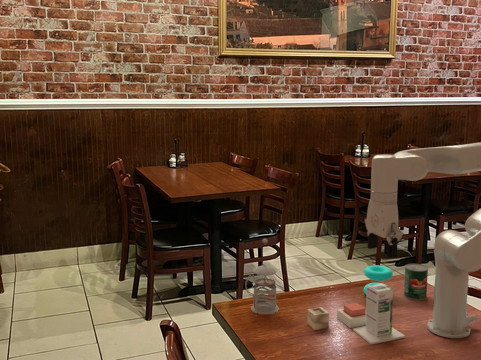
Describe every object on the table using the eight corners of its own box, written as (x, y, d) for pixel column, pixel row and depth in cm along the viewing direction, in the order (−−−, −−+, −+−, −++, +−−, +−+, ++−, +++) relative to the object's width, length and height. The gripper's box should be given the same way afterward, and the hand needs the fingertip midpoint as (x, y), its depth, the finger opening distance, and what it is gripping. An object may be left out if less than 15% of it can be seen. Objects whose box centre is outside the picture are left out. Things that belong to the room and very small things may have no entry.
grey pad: (385, 324, 168) (385, 322, 168) (404, 337, 159) (404, 335, 159) (352, 330, 164) (352, 328, 164) (371, 344, 155) (371, 342, 155)
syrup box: (376, 337, 158) (378, 291, 155) (365, 329, 163) (366, 285, 161) (392, 333, 160) (394, 288, 158) (380, 326, 165) (381, 282, 163)
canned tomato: (414, 290, 196) (415, 262, 194) (431, 297, 189) (432, 268, 187) (399, 294, 192) (400, 265, 190) (416, 301, 185) (417, 272, 183)
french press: (281, 314, 176) (281, 242, 172) (246, 315, 176) (246, 243, 171) (277, 302, 186) (277, 234, 182) (244, 303, 185) (244, 235, 181)
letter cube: (321, 321, 171) (321, 306, 170) (328, 327, 166) (328, 312, 165) (307, 323, 169) (307, 308, 168) (314, 330, 164) (314, 314, 164)
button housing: (357, 314, 176) (358, 305, 175) (371, 324, 168) (372, 315, 168) (337, 318, 173) (337, 309, 172) (350, 328, 165) (350, 319, 165)
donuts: (369, 262, 197) (396, 267, 192) (368, 287, 199) (394, 292, 194) (360, 270, 189) (388, 275, 184) (359, 296, 190) (386, 302, 185)
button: (356, 311, 173) (356, 302, 173) (365, 317, 169) (365, 308, 168) (343, 313, 172) (343, 304, 171) (351, 319, 167) (352, 310, 166)
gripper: (356, 192, 161) (355, 246, 164) (391, 203, 145) (388, 263, 148) (377, 190, 163) (375, 243, 166) (413, 201, 147) (410, 259, 150)
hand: (381, 252), depth 157 cm, fingers open, 9 cm apart
